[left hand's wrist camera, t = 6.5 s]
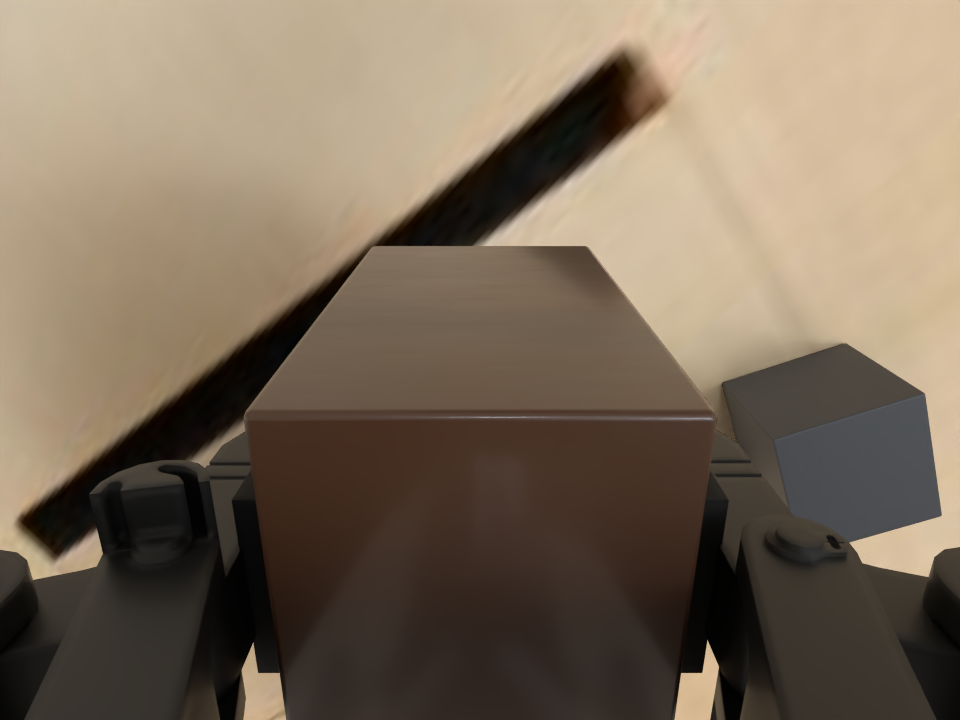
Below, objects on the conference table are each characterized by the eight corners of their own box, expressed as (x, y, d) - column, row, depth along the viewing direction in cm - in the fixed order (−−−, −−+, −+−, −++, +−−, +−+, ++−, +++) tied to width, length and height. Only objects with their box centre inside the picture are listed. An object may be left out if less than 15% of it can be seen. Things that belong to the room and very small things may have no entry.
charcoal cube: (721, 382, 27) (772, 440, 22) (845, 342, 26) (925, 392, 22) (747, 483, 28) (800, 557, 24) (864, 448, 28) (942, 516, 23)
